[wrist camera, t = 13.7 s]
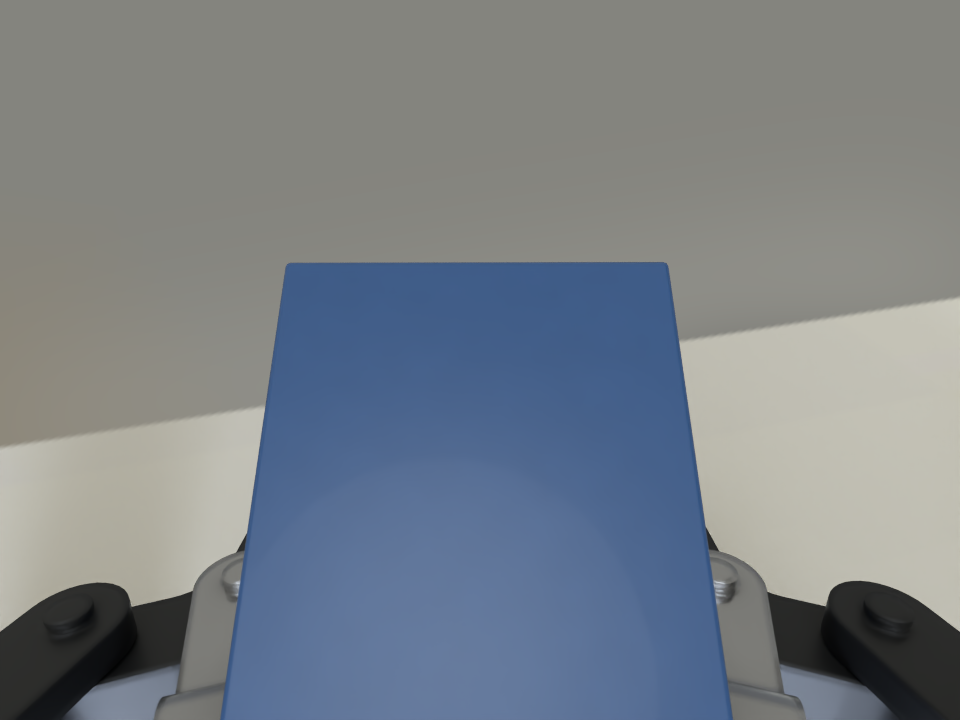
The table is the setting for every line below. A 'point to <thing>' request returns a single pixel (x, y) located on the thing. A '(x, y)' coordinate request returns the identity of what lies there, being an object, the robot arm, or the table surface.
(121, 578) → the table surface
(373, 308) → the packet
